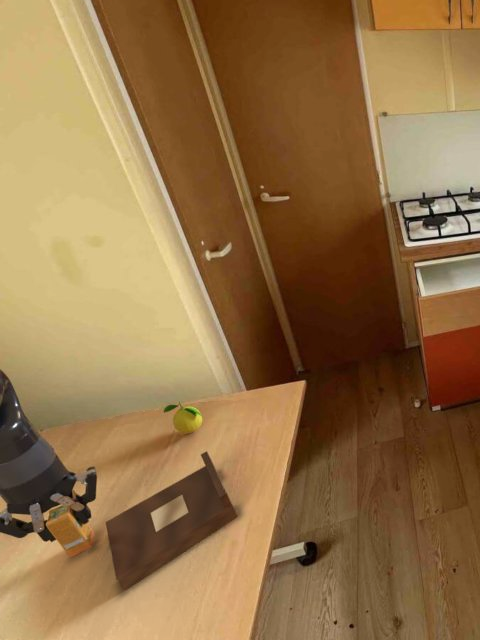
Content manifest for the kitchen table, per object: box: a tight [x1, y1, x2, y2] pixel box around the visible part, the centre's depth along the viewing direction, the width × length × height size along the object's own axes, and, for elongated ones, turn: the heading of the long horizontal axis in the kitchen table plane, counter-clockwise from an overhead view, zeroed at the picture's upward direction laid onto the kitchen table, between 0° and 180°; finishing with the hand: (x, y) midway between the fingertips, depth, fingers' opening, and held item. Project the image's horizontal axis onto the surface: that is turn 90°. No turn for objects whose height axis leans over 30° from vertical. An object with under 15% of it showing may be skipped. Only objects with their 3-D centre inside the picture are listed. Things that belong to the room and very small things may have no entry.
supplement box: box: [46, 505, 95, 558], centre depth 78 cm, size 3×3×10 cm
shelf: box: [105, 451, 239, 591], centre depth 83 cm, size 18×14×8 cm
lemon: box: [163, 400, 203, 434], centre depth 103 cm, size 7×6×10 cm
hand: (70, 528), depth 78 cm, fingers closed on supplement box, 3 cm apart
